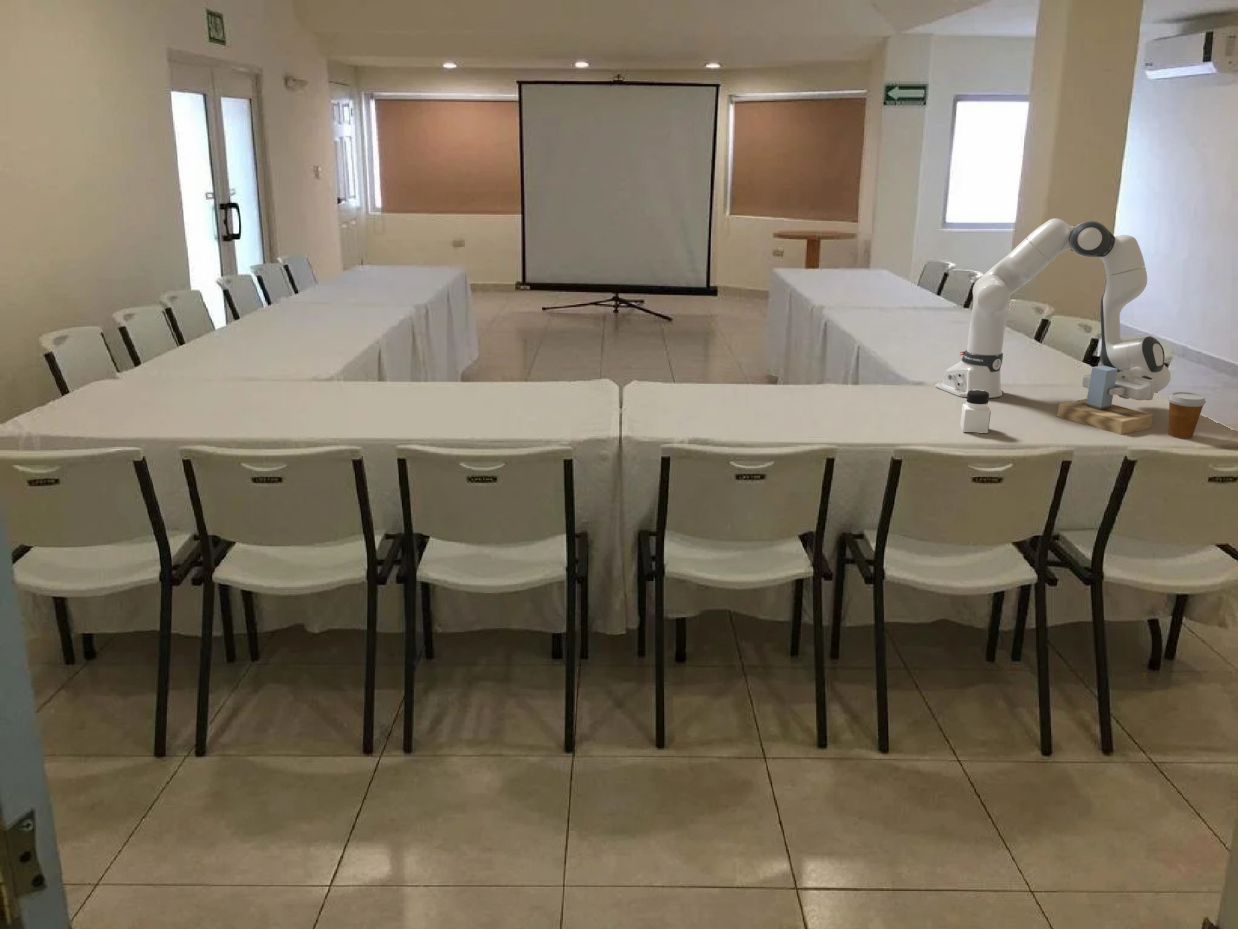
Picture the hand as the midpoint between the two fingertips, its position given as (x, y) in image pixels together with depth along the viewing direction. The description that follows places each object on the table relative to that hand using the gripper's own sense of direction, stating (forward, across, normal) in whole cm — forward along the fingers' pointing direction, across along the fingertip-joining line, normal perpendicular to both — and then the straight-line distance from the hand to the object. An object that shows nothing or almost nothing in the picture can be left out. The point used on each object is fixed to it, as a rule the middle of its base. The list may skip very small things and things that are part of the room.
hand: (1099, 389), depth 307 cm
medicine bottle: (+40, -11, +10) cm, 43 cm away
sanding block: (-1, 0, +5) cm, 5 cm away
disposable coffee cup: (-8, +22, +10) cm, 26 cm away
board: (-1, +2, +10) cm, 10 cm away
